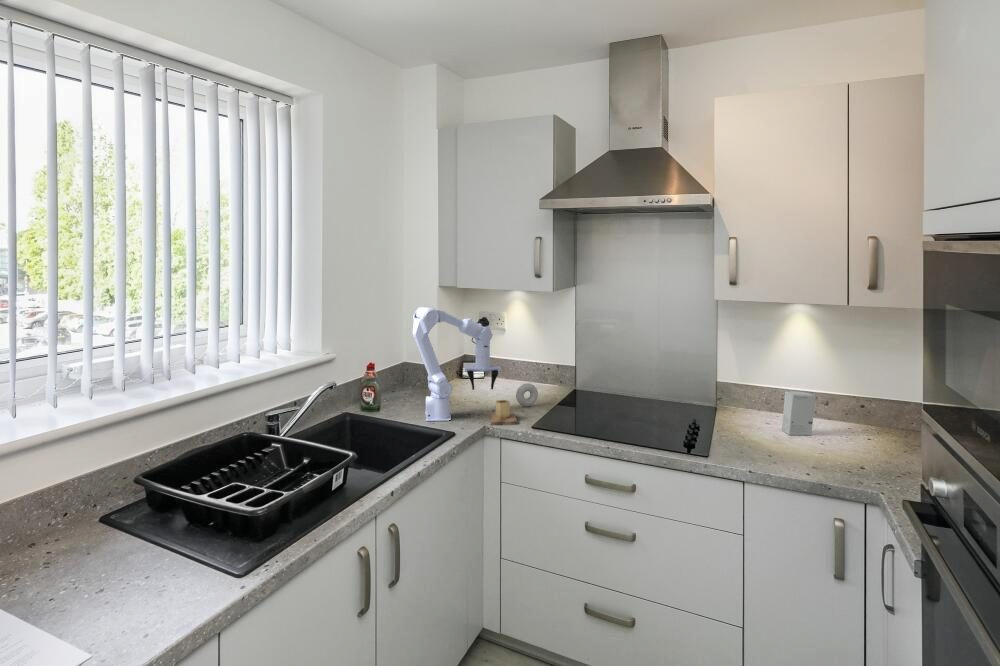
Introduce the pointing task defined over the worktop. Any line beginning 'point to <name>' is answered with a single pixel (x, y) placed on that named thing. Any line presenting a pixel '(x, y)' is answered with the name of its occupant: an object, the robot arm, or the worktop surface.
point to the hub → (502, 409)
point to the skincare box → (798, 413)
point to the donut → (520, 395)
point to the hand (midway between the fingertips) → (482, 389)
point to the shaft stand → (497, 421)
